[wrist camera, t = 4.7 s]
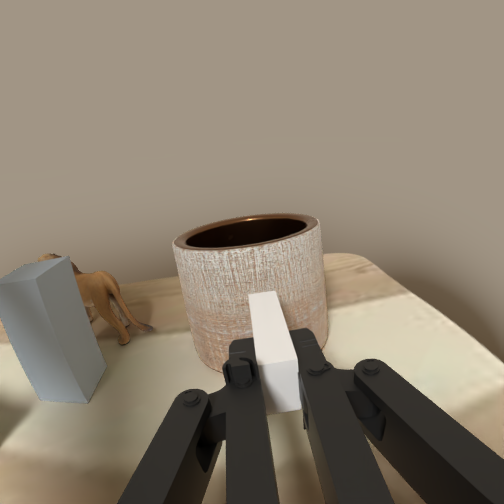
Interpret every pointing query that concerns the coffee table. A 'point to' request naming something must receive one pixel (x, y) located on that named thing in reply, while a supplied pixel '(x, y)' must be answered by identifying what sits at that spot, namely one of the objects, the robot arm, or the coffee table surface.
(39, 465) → the coffee table surface
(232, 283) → the planter
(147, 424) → the coffee table surface
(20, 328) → the slate block
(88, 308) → the lion figurine
